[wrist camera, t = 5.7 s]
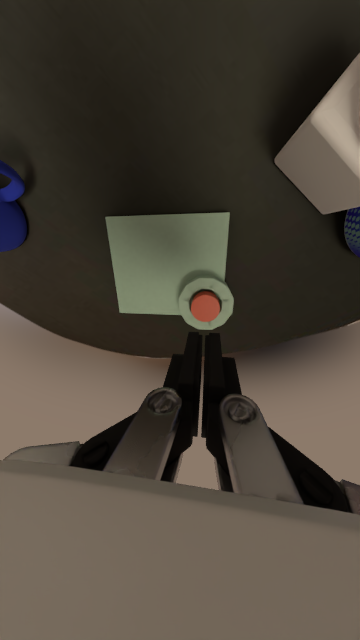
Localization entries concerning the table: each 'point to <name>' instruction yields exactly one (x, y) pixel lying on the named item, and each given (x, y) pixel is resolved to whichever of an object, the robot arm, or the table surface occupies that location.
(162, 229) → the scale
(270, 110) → the table surface
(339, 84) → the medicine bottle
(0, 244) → the mug
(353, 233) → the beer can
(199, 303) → the power button
